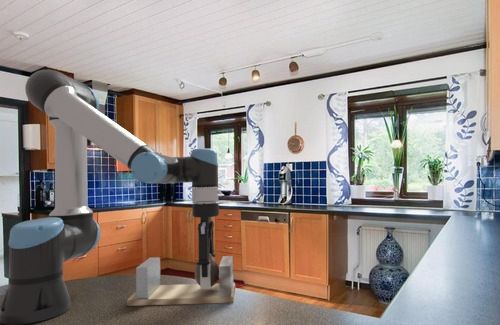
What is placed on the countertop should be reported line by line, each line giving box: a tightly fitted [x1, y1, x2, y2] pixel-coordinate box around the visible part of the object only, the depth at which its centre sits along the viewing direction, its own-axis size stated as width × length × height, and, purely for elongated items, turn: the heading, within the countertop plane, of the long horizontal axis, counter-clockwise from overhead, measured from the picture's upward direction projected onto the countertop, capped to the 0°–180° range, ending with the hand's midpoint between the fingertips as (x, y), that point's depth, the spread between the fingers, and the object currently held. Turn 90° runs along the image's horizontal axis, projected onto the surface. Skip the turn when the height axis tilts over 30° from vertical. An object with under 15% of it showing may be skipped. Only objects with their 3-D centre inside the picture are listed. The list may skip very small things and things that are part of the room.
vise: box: [126, 255, 236, 307], centre depth 93 cm, size 28×12×10 cm, turn 90°
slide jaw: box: [135, 256, 161, 298], centre depth 93 cm, size 3×12×8 cm, turn 0°
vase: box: [194, 253, 219, 286], centre depth 93 cm, size 7×7×9 cm
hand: (207, 284), depth 92 cm, fingers closed on vase, 7 cm apart
